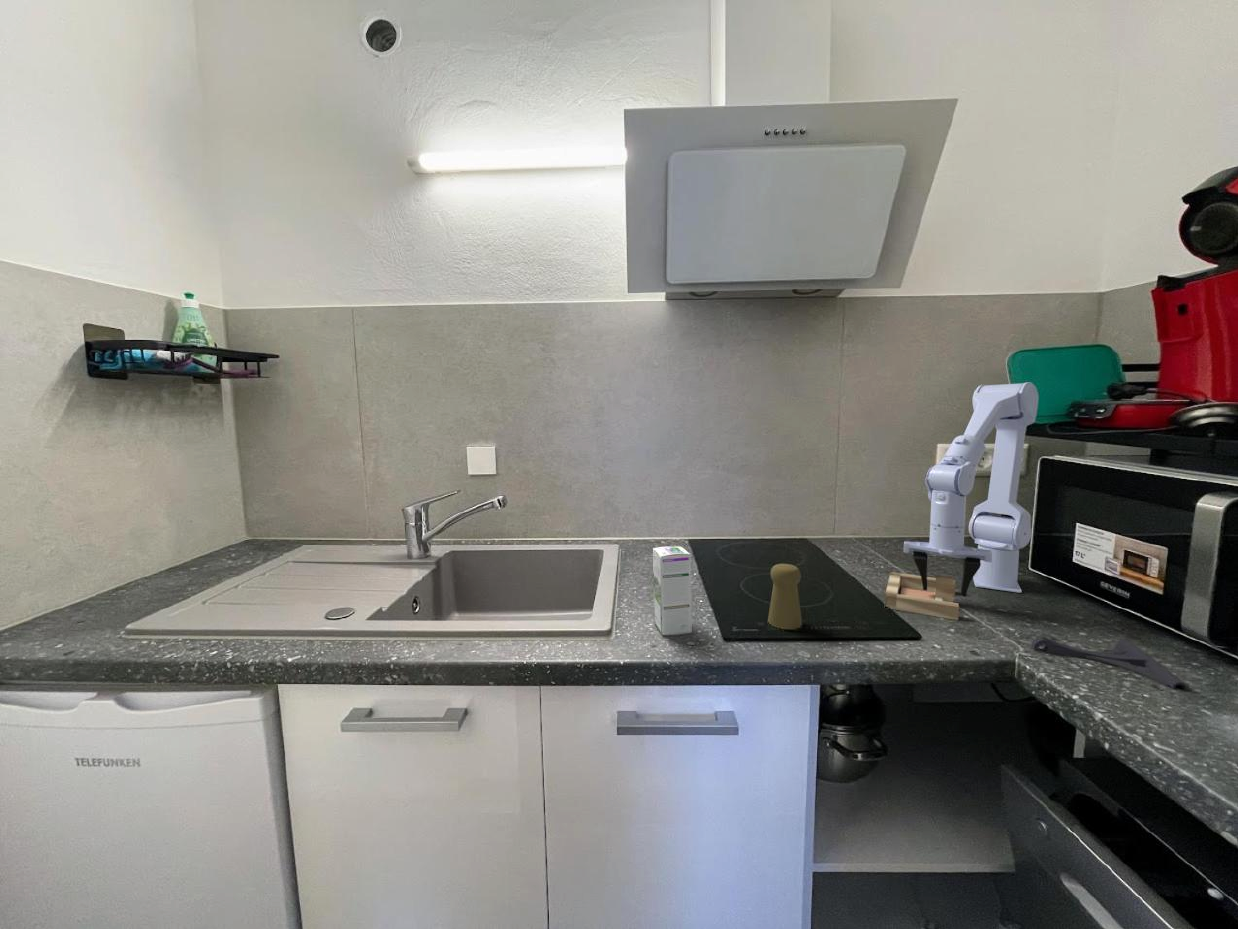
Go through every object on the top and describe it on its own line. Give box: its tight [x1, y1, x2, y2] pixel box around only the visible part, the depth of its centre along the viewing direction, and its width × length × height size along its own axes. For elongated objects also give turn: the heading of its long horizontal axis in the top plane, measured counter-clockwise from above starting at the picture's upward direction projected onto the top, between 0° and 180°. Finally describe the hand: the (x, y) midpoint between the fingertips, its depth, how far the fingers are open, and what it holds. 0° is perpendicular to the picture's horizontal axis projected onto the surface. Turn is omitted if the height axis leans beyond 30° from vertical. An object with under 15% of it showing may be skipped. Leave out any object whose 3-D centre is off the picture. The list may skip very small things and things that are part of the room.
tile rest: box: [884, 571, 960, 621], centre depth 101 cm, size 17×12×2 cm
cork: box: [767, 563, 803, 629], centre depth 90 cm, size 6×6×11 cm
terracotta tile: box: [900, 587, 935, 600], centre depth 102 cm, size 6×6×2 cm
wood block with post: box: [935, 573, 955, 603], centre depth 99 cm, size 10×3×6 cm, turn 148°
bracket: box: [1031, 636, 1190, 692], centre depth 76 cm, size 14×15×3 cm
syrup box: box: [652, 545, 693, 636], centre depth 89 cm, size 6×6×14 cm
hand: (943, 591), depth 99 cm, fingers open, 6 cm apart
